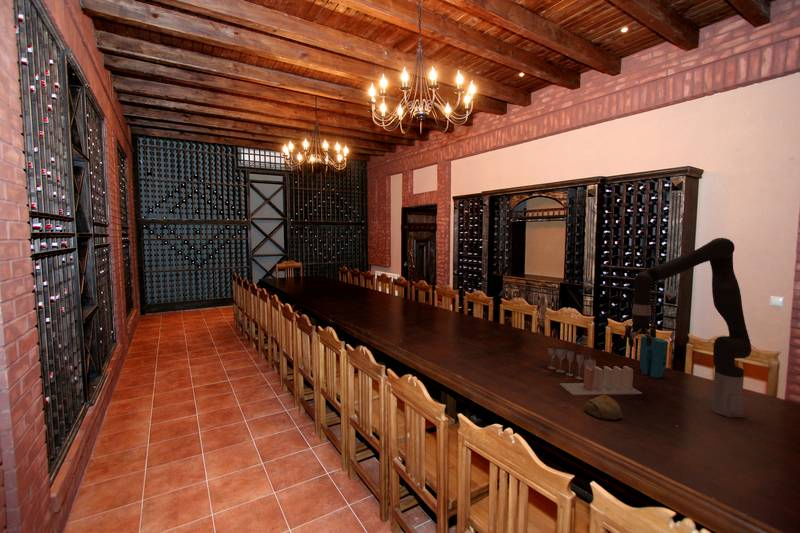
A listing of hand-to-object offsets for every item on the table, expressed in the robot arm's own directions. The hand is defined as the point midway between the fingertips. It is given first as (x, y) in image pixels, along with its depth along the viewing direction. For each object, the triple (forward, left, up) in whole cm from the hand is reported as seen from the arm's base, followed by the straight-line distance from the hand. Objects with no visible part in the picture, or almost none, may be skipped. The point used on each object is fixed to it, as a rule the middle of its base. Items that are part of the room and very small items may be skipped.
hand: (639, 346), depth 182 cm
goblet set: (+20, +23, -22) cm, 38 cm away
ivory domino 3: (+1, +10, -21) cm, 23 cm away
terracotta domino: (+1, +24, -21) cm, 32 cm away
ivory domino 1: (+1, +19, -21) cm, 29 cm away
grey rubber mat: (+1, +18, -22) cm, 28 cm away
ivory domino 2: (+1, +15, -21) cm, 26 cm away
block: (+18, -22, -22) cm, 36 cm away
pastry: (-23, +32, -22) cm, 45 cm away
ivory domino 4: (+1, +5, -21) cm, 22 cm away
